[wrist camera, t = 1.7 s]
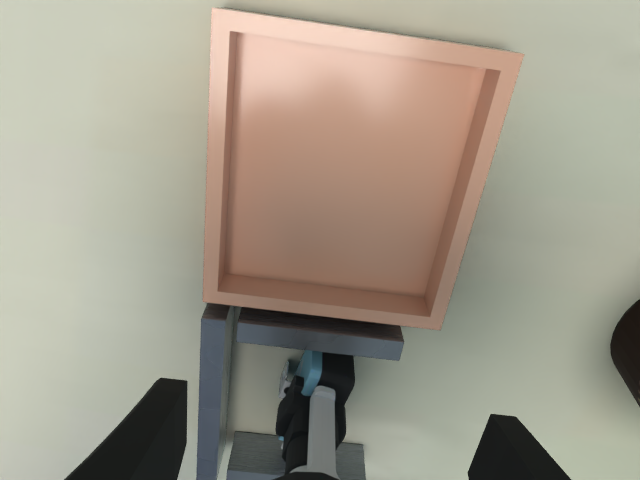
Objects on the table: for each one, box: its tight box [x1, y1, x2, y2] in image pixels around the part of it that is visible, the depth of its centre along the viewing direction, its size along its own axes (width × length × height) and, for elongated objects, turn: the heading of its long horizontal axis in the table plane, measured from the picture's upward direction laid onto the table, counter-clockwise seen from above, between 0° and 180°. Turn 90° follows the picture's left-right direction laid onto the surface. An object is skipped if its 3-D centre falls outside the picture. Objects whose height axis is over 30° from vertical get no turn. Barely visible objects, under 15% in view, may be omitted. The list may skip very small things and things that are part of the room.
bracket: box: [196, 303, 404, 480], centre depth 23 cm, size 8×10×2 cm
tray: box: [203, 8, 524, 330], centre depth 19 cm, size 10×11×2 cm
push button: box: [272, 350, 355, 480], centre depth 20 cm, size 7×5×10 cm
